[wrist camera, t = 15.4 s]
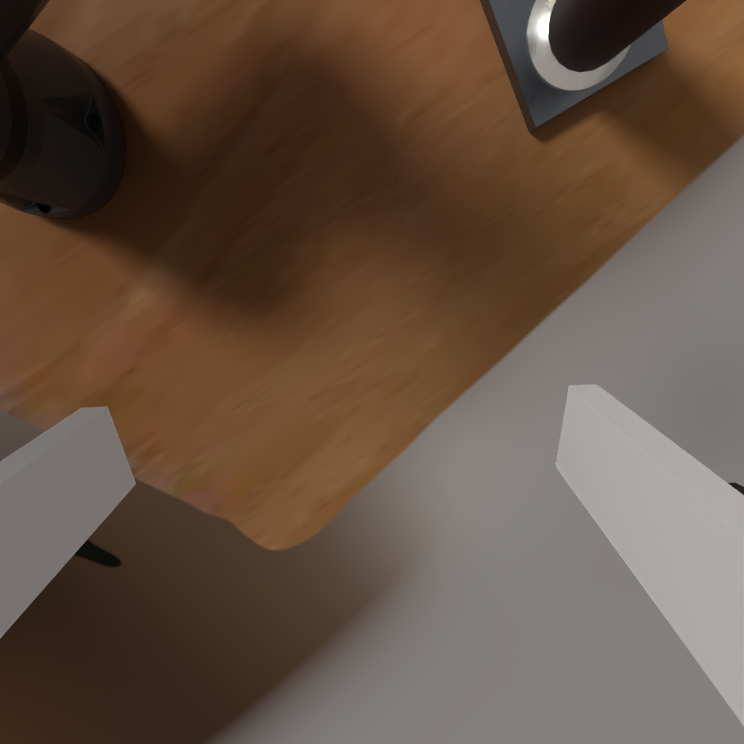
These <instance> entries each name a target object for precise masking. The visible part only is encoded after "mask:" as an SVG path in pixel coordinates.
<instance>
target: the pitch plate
mask: <svg viewBox="0 0 744 744" xmlns="http://www.w3.org/2000/svg"><path fill="white" fill-rule="evenodd" d="M480 1H481V4H482V7H483V9H484V12H485V15H486V17H487V20H488V23H489V25H490V28H491V31H492V33H493V36H494V39H495V42H496V44H497V47H498V50H499V52H500V55H501V58H502V60H503V63H504V66H505V68H506V71H507V74H508V76H509V79H510V82H511V85H512V87H513V90H514V93H515V95H516V98H517V101H518V103H519V106H520V109H521V111H522V114H523V117H524V119H525V122H526V125H527V127H528V130H529V132H531V131H533V130H534V129H536V128H538V127H540V126H541V125H543V124H545V123H546V122H548V121H550V120H551V119H553V118H555V117H556V116H558V115H560V114H561V113H563V112H565V111H566V110H568V109H570V108H571V107H573V106H575V105H576V104H578V103H580V102H581V101H583V100H585V99H586V98H588V97H590V96H591V95H593V94H595V93H596V92H598V91H600V90H601V89H603V88H605V87H606V86H608V85H610V84H611V83H613V82H615V81H616V80H618V79H620V78H621V77H623V76H625V75H626V74H628V73H630V72H631V71H633V70H635V69H636V68H638V67H640V66H641V65H643V64H645V63H646V62H648V61H650V60H651V59H653V58H655V57H656V56H658V55H659V54H661V53H662V52H664V51H665V50H667V49H668V44H667V40H666V36H665V33H664V29H663V25H662V21H660V22H658V23H657V24H656V25H655V26H653V27H652V28H651V29H649V30H648V31H647V32H646V33H644V34H643V35H642V36H641V37H639V38H638V39H637V40H636V41H634V42H633V43H632V44H631V45H629V46H628V47H627V48H626V49H624V50H623V51H622V52H620V53H619V54H618V55H617V56H615V57H614V58H613V59H612V60H610V61H609V62H608V63H607V64H605V65H603V66H601V67H599V68H597V69H595V70H593V71H586V72H576V71H572V70H568V69H567V68H565V67H564V66H563V65H561V64H560V63H559V62H558V61H557V59H556V58H555V56H554V55H553V53H552V51H551V47H550V43H549V39H548V23H549V19H550V16H551V12H552V8H553V5H554V3H555V2H556V0H480Z"/></svg>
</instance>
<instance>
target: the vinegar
mask: <svg viewBox="0 0 744 744" xmlns="http://www.w3.org/2000/svg"><path fill="white" fill-rule="evenodd" d="M685 1H686V0H556V2H555V3H554V5H553V8H552V12H551V16H550V19H549V23H548V39H549V43H550V47H551V51H552V53H553V55H554V56H555V58H556V59H557V61H558V62H559V63H560V64H561V65H563V66H564V67H565V68H567V69H568V70H572V71H576V72H586V71H593V70H595V69H597V68H599V67H601V66H603V65H605V64H607V63H608V62H609V61H610V60H612V59H613V58H614V57H615V56H617V55H618V54H619V53H620V52H622V51H623V50H624V49H626V48H627V47H628V46H629V45H631V44H632V43H633V42H634V41H636V40H637V39H638V38H639V37H641V36H642V35H643V34H644V33H646V32H647V31H648V30H649V29H651V28H652V27H653V26H655V25H656V24H657V23H658V22H660V21H661V20H662V19H663V18H665V17H666V16H667V15H668V14H670V13H671V12H672V11H673V10H675V9H676V8H677V7H679V6H680V5H681V4H682V3H684V2H685Z"/></svg>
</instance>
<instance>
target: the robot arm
mask: <svg viewBox="0 0 744 744" xmlns="http://www.w3.org/2000/svg"><path fill="white" fill-rule="evenodd" d="M49 1H50V0H0V202H1V203H3V204H5V205H8V206H10V207H12V208H14V209H16V210H19V211H22V212H25V213H29V214H32V215H37V216H44V217H54V218H76V217H80V216H84V215H87V214H89V213H91V212H93V211H95V210H97V209H98V208H100V207H101V206H102V205H104V204H105V203H106V202H107V201H108V200H109V198H110V197H111V196H112V194H113V193H114V191H115V190H116V188H117V186H118V184H119V181H120V179H121V176H122V172H123V167H124V161H125V142H124V134H123V129H122V125H121V121H120V118H119V115H118V112H117V110H116V108H115V105H114V103H113V101H112V99H111V97H110V95H109V93H108V92H107V90H106V89H105V87H104V86H103V84H102V83H101V81H100V80H99V79H98V77H97V76H96V75H95V74H94V73H93V72H92V70H91V69H90V68H89V67H88V66H87V65H86V64H85V63H84V62H82V61H81V60H80V59H79V58H78V57H76V56H75V55H74V54H72V53H71V52H69V51H68V50H66V49H65V48H63V47H62V46H60V45H58V44H57V43H55V42H54V41H52V40H51V39H49V38H47V37H45V36H44V35H41V34H39V33H37V32H35V31H33V30H30V29H28V28H29V27H30V25H31V24H32V23H33V22H34V20H35V19H36V18H37V16H38V15H39V14H40V12H41V11H42V10H43V9H44V7H45V6H46V5H47V3H48V2H49ZM555 467H556V468H557V470H558V471H559V472H560V474H561V475H562V476H563V478H564V479H565V481H566V482H567V483H568V485H569V486H570V487H571V489H572V490H573V491H574V493H575V494H576V496H577V497H578V498H579V500H580V501H581V503H582V504H583V505H584V507H585V508H586V509H587V511H588V512H589V514H590V515H591V516H592V518H593V519H594V520H595V522H596V523H597V524H598V526H599V527H600V529H601V530H602V531H603V533H604V534H605V535H606V537H607V538H608V539H609V541H610V542H611V544H612V545H613V546H614V548H615V549H616V551H617V552H618V554H619V555H620V556H621V558H622V559H623V560H624V562H625V563H626V565H627V566H628V567H629V568H630V570H631V571H632V573H633V574H634V575H635V577H636V578H637V580H638V581H639V582H640V584H641V585H642V587H643V588H644V589H645V591H646V592H647V593H648V595H649V596H650V597H651V599H652V600H653V602H654V603H655V604H656V606H657V607H658V608H659V610H660V611H661V613H662V614H663V615H664V617H665V618H666V620H667V621H668V622H669V624H670V625H671V626H672V628H673V629H674V631H675V632H676V633H677V635H678V636H679V637H680V639H681V640H682V642H683V643H684V644H685V646H686V647H687V648H688V650H689V651H690V652H691V654H692V655H693V657H694V658H695V659H696V661H697V662H698V664H699V665H700V666H701V668H702V669H703V670H704V672H705V673H706V674H707V676H708V677H709V679H710V680H711V681H712V683H713V684H714V685H715V687H716V688H717V690H718V691H719V692H720V694H721V695H722V697H723V698H724V699H725V701H726V702H727V703H728V705H729V706H730V708H731V709H732V710H733V712H734V713H735V714H736V716H737V717H738V719H739V720H740V721H741V722H742V724H743V725H744V487H743V486H741V485H739V484H737V483H727V482H725V481H724V480H723V479H721V478H720V477H719V476H717V475H716V474H715V473H714V472H712V471H711V470H710V469H708V468H707V467H705V466H704V465H703V464H702V463H700V462H699V461H697V460H696V459H695V458H694V457H692V456H691V455H690V454H688V453H687V452H686V451H684V450H683V449H682V448H680V447H679V446H678V445H676V444H675V443H674V442H672V441H671V440H670V439H668V438H667V437H666V436H665V435H663V434H662V433H661V432H659V431H658V430H656V429H655V428H654V427H652V426H651V425H650V424H649V423H647V422H646V421H644V420H643V419H642V418H640V417H639V416H638V415H637V414H635V413H634V412H633V411H631V410H630V409H629V408H627V407H626V406H625V405H623V404H622V403H621V402H619V401H618V400H617V399H615V398H614V397H613V396H611V395H610V394H609V393H608V392H606V391H605V390H604V389H602V388H601V387H600V386H598V385H597V384H589V385H569V388H568V394H567V399H566V405H565V411H564V418H563V423H562V429H561V435H560V441H559V447H558V453H557V459H556V465H555ZM135 484H136V483H135V480H134V477H133V475H132V472H131V469H130V467H129V464H128V461H127V458H126V456H125V453H124V450H123V447H122V445H121V442H120V439H119V437H118V434H117V431H116V428H115V426H114V423H113V420H112V418H111V415H110V412H109V409H108V407H89V408H80V409H79V410H77V411H76V412H74V413H73V414H71V415H70V416H68V417H67V418H65V419H64V420H62V421H61V422H59V423H58V424H56V425H55V426H53V427H52V428H50V429H49V430H47V431H46V432H44V433H43V434H41V435H40V436H38V437H37V438H35V439H34V440H32V441H31V442H29V443H27V444H26V445H24V446H23V447H22V448H20V449H18V450H17V451H15V452H14V453H12V454H11V455H9V456H8V457H6V458H5V459H3V460H2V461H0V638H1V637H2V636H3V634H4V633H5V632H6V631H7V630H8V629H9V628H10V626H11V625H12V624H13V623H14V622H15V621H16V620H17V619H18V617H19V616H20V615H21V614H22V613H23V612H24V610H25V609H26V608H27V607H28V606H29V605H30V604H31V603H32V601H33V600H34V599H35V598H36V597H37V596H38V595H39V593H40V592H41V591H42V590H43V589H44V588H45V587H46V586H47V584H48V583H49V582H50V581H51V580H52V579H53V577H54V576H55V575H56V574H57V573H58V572H59V571H60V570H61V568H62V567H63V566H64V565H65V564H66V563H67V562H68V561H69V559H70V558H71V557H72V556H73V555H74V554H75V553H76V551H77V550H78V549H79V548H80V547H81V546H82V545H83V543H84V542H85V541H86V540H87V539H88V538H89V537H90V536H91V534H92V533H93V532H94V531H95V530H96V529H97V528H98V526H99V525H100V524H101V523H102V522H103V521H104V520H105V518H106V517H107V516H108V515H109V514H110V513H111V512H112V510H113V509H114V508H115V507H116V506H117V505H118V504H119V502H120V501H121V500H122V499H123V498H124V497H125V496H126V494H127V493H128V492H129V491H130V490H131V489H132V488H133V487H134V485H135Z"/></svg>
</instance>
